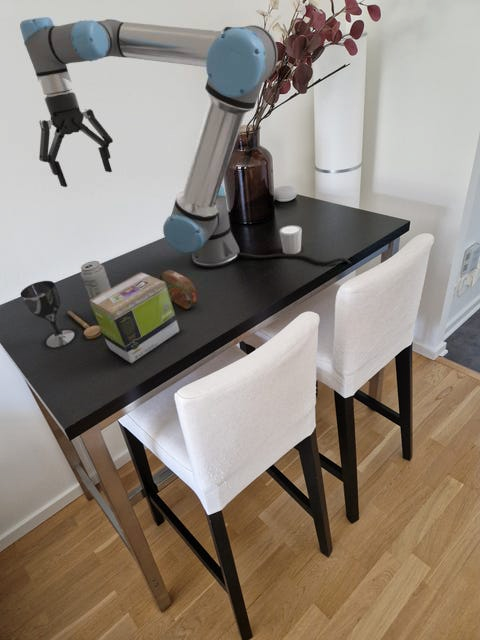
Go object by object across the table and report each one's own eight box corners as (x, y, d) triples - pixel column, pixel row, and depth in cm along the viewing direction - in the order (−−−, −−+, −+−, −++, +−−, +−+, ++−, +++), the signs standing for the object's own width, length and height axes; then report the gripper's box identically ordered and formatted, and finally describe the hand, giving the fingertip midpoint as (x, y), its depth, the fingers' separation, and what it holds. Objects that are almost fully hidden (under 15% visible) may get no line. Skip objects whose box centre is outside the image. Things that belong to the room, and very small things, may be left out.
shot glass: (301, 255, 131) (300, 233, 127) (279, 255, 133) (277, 234, 129) (303, 245, 137) (302, 224, 133) (282, 245, 138) (280, 225, 135)
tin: (162, 294, 122) (155, 269, 118) (171, 290, 124) (165, 264, 119) (192, 313, 112) (186, 286, 108) (202, 308, 114) (196, 281, 109)
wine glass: (59, 327, 115) (36, 279, 107) (82, 331, 112) (61, 281, 104) (38, 346, 109) (13, 296, 101) (62, 350, 106) (38, 299, 98)
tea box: (156, 319, 112) (141, 270, 104) (180, 332, 106) (167, 280, 98) (107, 349, 104) (87, 298, 96) (130, 365, 98) (111, 312, 90)
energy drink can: (123, 311, 118) (106, 263, 109) (104, 322, 114) (85, 273, 106) (111, 305, 121) (94, 257, 113) (93, 315, 118) (74, 267, 110)
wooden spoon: (62, 317, 119) (60, 313, 119) (76, 310, 122) (75, 306, 121) (89, 341, 108) (88, 337, 107) (105, 332, 110) (103, 329, 110)
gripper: (96, 84, 116) (119, 164, 128) (4, 103, 103) (38, 190, 115) (110, 84, 111) (132, 167, 123) (14, 104, 98) (49, 194, 110)
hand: (87, 178), depth 119 cm, fingers open, 13 cm apart
